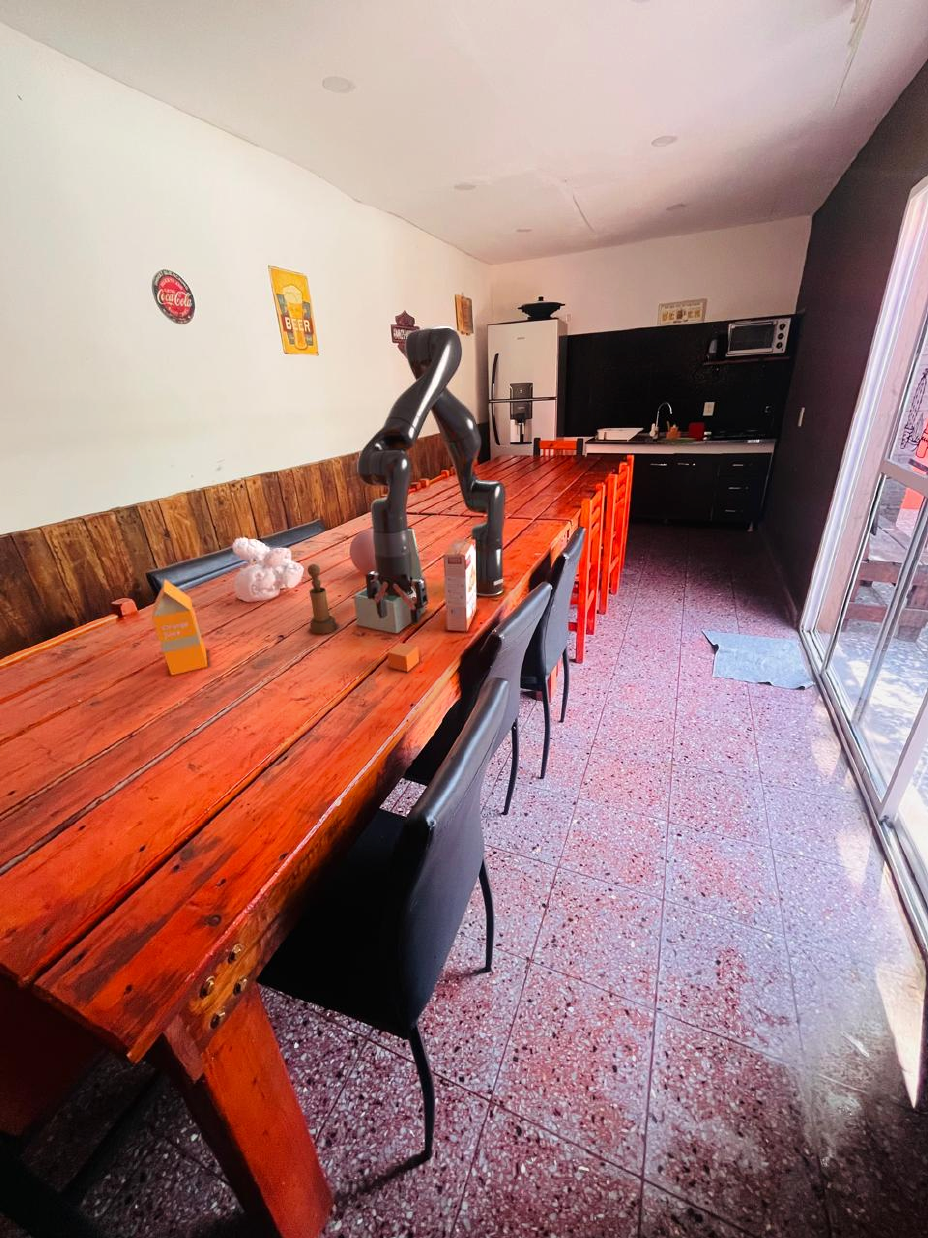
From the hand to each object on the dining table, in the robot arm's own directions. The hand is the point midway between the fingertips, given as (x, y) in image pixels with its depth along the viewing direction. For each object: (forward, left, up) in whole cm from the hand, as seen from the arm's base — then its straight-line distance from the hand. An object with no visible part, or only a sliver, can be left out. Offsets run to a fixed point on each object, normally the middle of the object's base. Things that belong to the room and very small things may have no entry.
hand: (399, 620), depth 109 cm
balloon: (-49, -43, -11) cm, 66 cm away
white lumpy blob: (-21, -63, -11) cm, 67 cm away
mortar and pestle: (-7, -30, -11) cm, 32 cm away
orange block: (0, 0, -11) cm, 11 cm away
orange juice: (+20, -48, -11) cm, 53 cm away
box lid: (-25, -16, +6) cm, 30 cm away
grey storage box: (-19, -16, -11) cm, 27 cm away
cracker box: (-26, +2, -11) cm, 28 cm away
